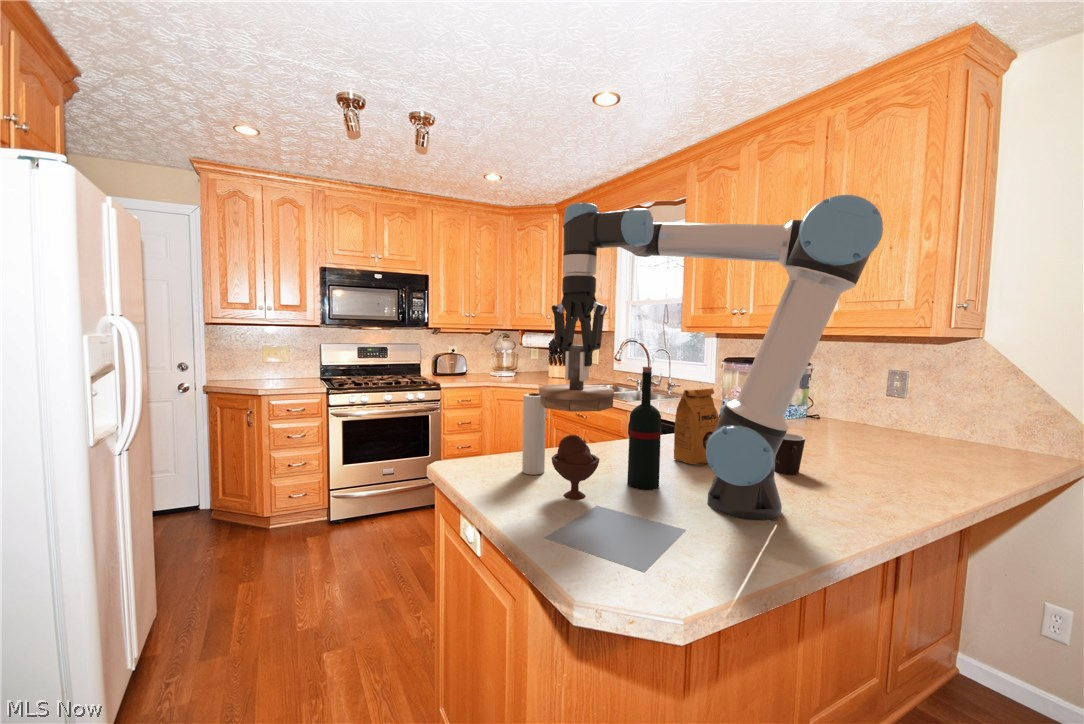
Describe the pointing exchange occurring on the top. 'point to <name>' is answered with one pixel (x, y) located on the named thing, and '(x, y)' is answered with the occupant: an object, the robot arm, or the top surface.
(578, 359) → the lid
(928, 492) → the top surface
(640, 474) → the wine bottle
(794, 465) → the coffee mug
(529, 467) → the paper towel roll
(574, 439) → the ice cream bowl
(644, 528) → the mat
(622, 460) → the top surface
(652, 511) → the top surface
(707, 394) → the coffee package
